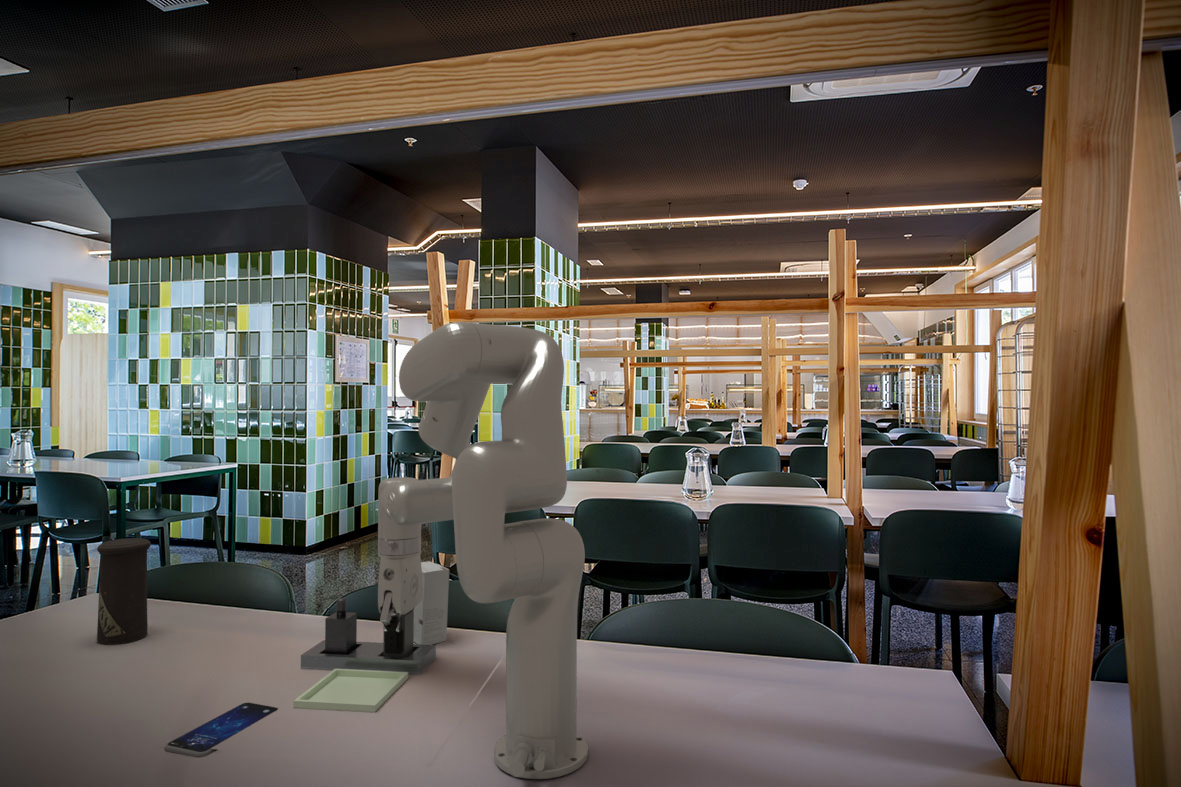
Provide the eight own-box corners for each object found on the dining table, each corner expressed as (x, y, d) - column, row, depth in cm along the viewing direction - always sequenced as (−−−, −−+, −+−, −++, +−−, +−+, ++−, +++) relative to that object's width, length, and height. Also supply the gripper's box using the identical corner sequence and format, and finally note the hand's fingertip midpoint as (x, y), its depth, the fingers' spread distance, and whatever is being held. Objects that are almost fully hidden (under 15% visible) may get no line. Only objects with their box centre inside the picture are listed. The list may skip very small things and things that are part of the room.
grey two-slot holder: (420, 677, 119) (420, 608, 119) (300, 671, 122) (301, 604, 122) (435, 660, 127) (436, 596, 127) (323, 655, 130) (323, 592, 130)
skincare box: (402, 637, 140) (402, 564, 140) (428, 631, 144) (429, 559, 144) (422, 648, 134) (423, 571, 134) (449, 641, 138) (450, 566, 138)
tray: (375, 715, 104) (375, 705, 104) (293, 710, 106) (293, 700, 106) (408, 681, 117) (408, 672, 117) (334, 677, 119) (335, 668, 119)
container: (101, 634, 141) (102, 537, 141) (152, 629, 145) (153, 533, 145) (90, 648, 133) (92, 544, 134) (145, 641, 137) (147, 541, 137)
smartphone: (283, 707, 106) (202, 754, 92) (283, 714, 106) (202, 761, 92) (245, 700, 108) (160, 745, 94) (245, 706, 108) (160, 752, 94)
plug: (404, 661, 122) (405, 599, 122) (383, 661, 122) (383, 598, 122) (413, 653, 126) (413, 593, 126) (392, 653, 126) (392, 592, 126)
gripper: (401, 556, 115) (400, 666, 115) (435, 538, 132) (435, 634, 132) (359, 555, 116) (358, 664, 116) (398, 537, 133) (397, 632, 133)
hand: (399, 647), depth 124 cm, fingers closed on plug, 3 cm apart
